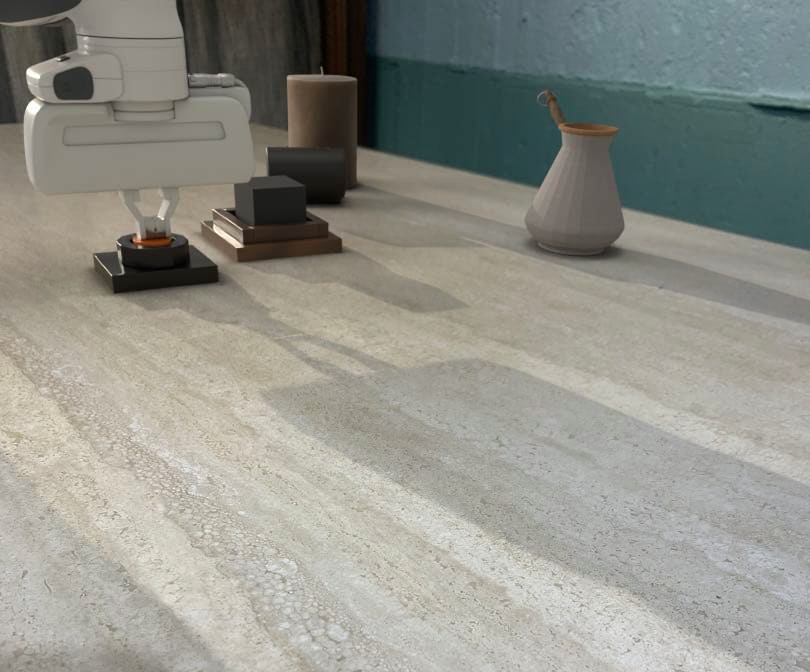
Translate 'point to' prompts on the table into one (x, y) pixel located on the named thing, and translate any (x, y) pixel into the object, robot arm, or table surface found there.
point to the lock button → (152, 241)
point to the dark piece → (154, 265)
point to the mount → (269, 237)
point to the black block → (270, 201)
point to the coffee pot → (577, 191)
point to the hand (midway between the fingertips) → (154, 237)
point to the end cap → (311, 170)
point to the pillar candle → (324, 115)
